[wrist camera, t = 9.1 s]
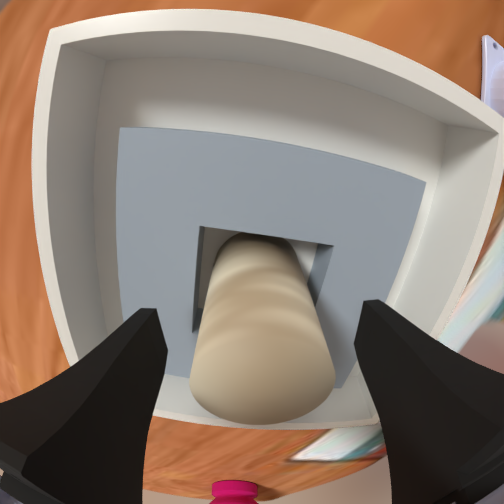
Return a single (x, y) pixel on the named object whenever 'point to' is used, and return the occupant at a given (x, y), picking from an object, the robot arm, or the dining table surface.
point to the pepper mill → (234, 492)
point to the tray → (257, 126)
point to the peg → (260, 336)
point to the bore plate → (255, 226)
